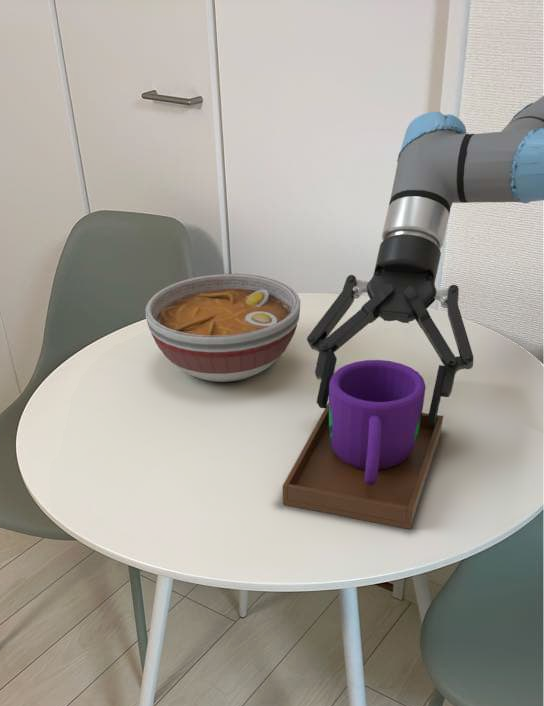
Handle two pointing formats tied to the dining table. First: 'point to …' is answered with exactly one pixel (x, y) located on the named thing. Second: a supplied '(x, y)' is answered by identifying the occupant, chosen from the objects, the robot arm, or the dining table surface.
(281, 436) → the dining table surface
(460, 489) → the dining table surface
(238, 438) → the dining table surface
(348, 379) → the mug
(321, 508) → the tray
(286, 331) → the bowl
